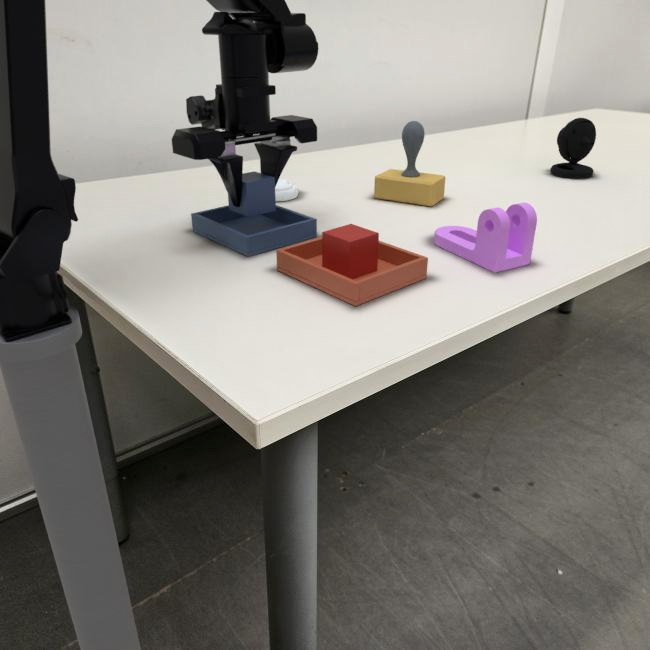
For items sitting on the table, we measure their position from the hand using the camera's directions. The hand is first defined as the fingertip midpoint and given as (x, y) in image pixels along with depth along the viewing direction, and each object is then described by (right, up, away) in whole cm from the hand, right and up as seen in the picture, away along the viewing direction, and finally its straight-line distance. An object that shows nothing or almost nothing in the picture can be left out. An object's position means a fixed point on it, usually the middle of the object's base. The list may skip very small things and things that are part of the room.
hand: (251, 203), depth 81 cm
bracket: (+29, -7, -4) cm, 30 cm away
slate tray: (0, -4, +2) cm, 4 cm away
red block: (+13, -10, -11) cm, 19 cm away
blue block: (0, -1, 0) cm, 1 cm away
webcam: (+55, +12, +32) cm, 65 cm away
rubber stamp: (+23, +4, +18) cm, 30 cm away
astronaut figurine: (0, +6, +21) cm, 22 cm away
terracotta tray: (+13, -10, -11) cm, 19 cm away
